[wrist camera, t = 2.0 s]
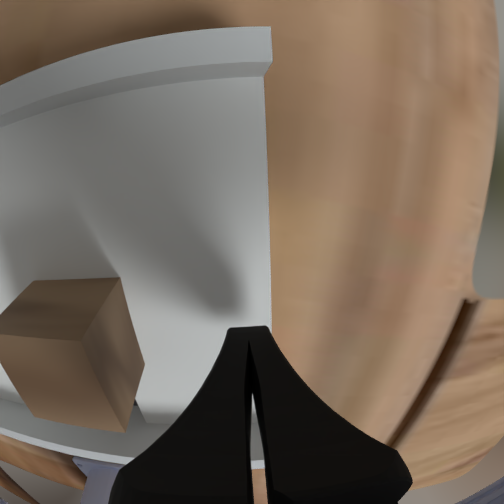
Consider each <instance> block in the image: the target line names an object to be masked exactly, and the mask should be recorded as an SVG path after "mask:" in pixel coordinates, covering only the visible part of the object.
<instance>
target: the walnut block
mask: <svg viewBox="0 0 504 504" xmlns="http://www.w3.org/2000/svg"><path fill="white" fill-rule="evenodd" d="M0 363H1V365H2V367H3V369H4V370H5V372H6V374H7V376H8V377H9V379H10V381H11V382H12V384H13V385H14V387H15V389H16V390H17V392H18V393H19V395H20V396H21V398H22V400H23V401H24V403H25V404H26V405H27V407H28V408H29V410H30V411H31V413H32V414H33V416H34V417H37V418H41V419H45V420H49V421H54V422H59V423H64V424H69V425H74V426H80V427H86V428H92V429H99V430H106V431H114V432H122V433H126V430H127V426H128V422H129V419H130V415H131V411H132V408H133V404H134V400H135V397H136V394H137V390H138V387H139V383H140V380H141V376H142V373H143V370H144V367H145V362H144V359H143V356H142V353H141V350H140V347H139V343H138V340H137V337H136V334H135V330H134V327H133V323H132V320H131V316H130V313H129V309H128V305H127V302H126V298H125V294H124V290H123V286H122V282H121V278H120V277H113V278H90V279H64V280H35V281H33V282H32V283H31V284H30V285H29V286H28V287H26V288H25V289H24V290H23V291H22V292H21V293H20V294H19V295H18V296H17V298H16V299H15V300H14V301H13V302H12V303H11V304H10V305H9V306H8V307H7V308H6V309H5V310H4V311H3V312H2V313H1V314H0Z"/></svg>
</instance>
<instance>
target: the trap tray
mask: <svg viewBox="0 0 504 504" xmlns="http://www.w3.org/2000/svg"><path fill="white" fill-rule="evenodd" d="M272 62H273V58H272V40H271V27H230V28H215V29H204V30H194V31H186V32H178V33H171V34H165V35H159V36H153V37H147V38H142V39H137V40H132V41H128V42H123V43H119V44H115V45H111V46H107V47H103V48H99V49H96V50H92V51H89V52H85V53H82V54H79V55H76V56H72V57H69V58H66V59H63V60H61V61H58V62H55V63H52V64H49V65H47V66H44V67H41V68H39V69H36V70H34V71H31V72H29V73H27V74H24V75H22V76H20V77H17V78H15V79H13V80H11V81H8V82H6V83H4V84H2V85H0V314H1V313H2V312H3V311H4V310H5V309H6V308H7V307H8V306H9V305H10V304H11V303H12V302H13V301H14V300H15V299H16V298H17V296H18V295H19V294H20V293H21V292H22V291H23V290H24V289H25V288H26V287H28V286H29V285H30V284H31V283H32V282H33V281H35V280H64V279H90V278H113V277H120V278H121V282H122V286H123V290H124V294H125V298H126V302H127V305H128V309H129V313H130V316H131V320H132V323H133V327H134V330H135V334H136V337H137V340H138V343H139V347H140V350H141V353H142V356H143V359H144V362H145V367H144V370H143V373H142V376H141V380H140V383H139V387H138V390H137V394H136V397H135V400H134V404H133V408H132V411H131V415H130V419H129V422H128V426H127V430H126V433H122V432H114V431H106V430H99V429H92V428H86V427H80V426H74V425H69V424H64V423H59V422H54V421H49V420H45V419H41V418H37V417H34V416H33V414H32V413H31V411H30V410H29V408H28V407H27V405H26V404H25V403H24V401H23V400H22V398H21V396H20V395H19V393H18V392H17V390H16V389H15V387H14V385H13V384H12V382H11V381H10V379H9V377H8V376H7V374H6V372H5V370H4V369H3V367H2V365H1V363H0V434H3V435H6V436H9V437H11V438H14V439H17V440H20V441H23V442H26V443H30V444H33V445H36V446H40V447H43V448H47V449H50V450H54V451H58V452H62V453H66V454H70V455H75V456H79V457H84V458H89V459H94V460H100V461H105V462H112V463H118V464H125V465H126V464H128V463H129V462H130V461H132V460H133V459H134V458H136V457H137V456H138V455H140V454H141V453H142V452H143V451H145V450H146V449H147V448H148V447H149V446H150V445H152V444H153V443H154V442H155V441H156V440H157V439H158V438H159V437H160V436H161V435H162V434H163V433H164V432H165V431H166V430H167V429H168V428H169V427H170V426H171V425H172V424H173V423H174V422H175V421H176V419H177V418H178V417H179V416H180V415H181V414H182V412H183V411H184V410H185V409H186V407H187V406H188V405H189V404H190V402H191V401H192V399H193V398H194V397H195V395H196V394H197V392H198V391H199V389H200V388H201V386H202V384H203V383H204V381H205V379H206V378H207V376H208V374H209V373H210V371H211V369H212V367H213V365H214V363H215V361H216V359H217V357H218V355H219V353H220V350H221V348H222V345H223V343H224V340H225V337H226V333H227V330H228V329H229V328H231V327H248V326H263V325H266V326H267V327H268V328H269V330H270V332H271V334H272V331H271V274H270V233H269V199H268V169H267V143H266V119H265V96H264V75H265V74H266V72H267V70H268V69H269V67H270V65H271V64H272ZM250 446H251V469H261V468H265V465H264V454H263V447H262V441H261V436H260V431H259V426H258V421H257V415H256V410H255V405H254V399H253V394H252V418H251V444H250Z"/></svg>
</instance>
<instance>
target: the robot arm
mask: <svg viewBox="0 0 504 504" xmlns="http://www.w3.org/2000/svg"><path fill="white" fill-rule="evenodd" d="M252 394H253V399H254V405H255V410H256V415H257V421H258V426H259V431H260V436H261V441H262V447H263V454H264V465H265V476H266V488H267V499H268V504H398V501H399V500H400V499H401V498H402V497H403V495H404V494H405V493H406V492H407V491H408V490H409V488H410V487H411V485H412V483H413V482H412V477H411V475H410V472H409V470H408V468H407V466H406V464H405V463H404V461H403V459H402V458H401V456H400V454H399V453H398V451H397V450H395V449H393V448H391V447H389V446H387V445H385V444H383V443H381V442H379V441H377V440H375V439H374V438H372V437H370V436H369V435H367V434H365V433H364V432H362V431H361V430H359V429H358V428H356V427H355V426H353V425H352V424H351V423H349V422H348V421H347V420H345V419H344V418H343V417H341V416H340V415H339V414H337V413H336V412H335V411H333V410H332V409H331V408H330V407H329V406H328V405H327V404H326V403H324V402H323V401H322V400H321V399H320V398H319V397H318V396H317V395H316V394H315V393H314V392H313V391H312V390H311V389H310V388H309V387H308V386H307V384H306V383H305V382H304V381H303V380H302V379H301V378H300V376H299V375H298V374H297V373H296V371H295V370H294V369H293V368H292V366H291V365H290V363H289V362H288V361H287V359H286V358H285V356H284V355H283V353H282V352H281V350H280V349H279V347H278V345H277V344H276V342H275V340H274V338H273V336H272V334H271V332H270V330H269V328H268V327H267V326H266V325H263V326H248V327H231V328H229V329H228V330H227V333H226V337H225V340H224V343H223V345H222V348H221V350H220V353H219V355H218V357H217V359H216V361H215V363H214V365H213V367H212V369H211V371H210V373H209V374H208V376H207V378H206V379H205V381H204V383H203V384H202V386H201V388H200V389H199V391H198V392H197V394H196V395H195V397H194V398H193V399H192V401H191V402H190V404H189V405H188V406H187V407H186V409H185V410H184V411H183V412H182V414H181V415H180V416H179V417H178V418H177V419H176V421H175V422H174V423H173V424H172V425H171V426H170V427H169V428H168V429H167V430H166V431H165V432H164V433H163V434H162V435H161V436H160V437H159V438H158V439H157V440H156V441H155V442H154V443H153V444H152V445H150V446H149V447H148V448H147V449H146V450H145V451H143V452H142V453H141V454H140V455H138V456H137V457H136V458H134V459H133V460H132V461H130V462H129V463H128V464H126V465H121V464H114V463H108V462H102V461H96V460H91V459H86V458H81V457H77V456H74V457H73V459H72V460H73V462H74V463H75V464H76V465H77V466H78V467H79V469H80V470H81V471H82V472H83V473H84V474H85V475H86V476H87V480H86V484H85V487H84V491H83V495H82V499H81V503H80V504H254V496H253V483H252V469H251V446H250V444H251V418H252ZM0 504H8V503H7V502H5V501H4V500H3V499H1V498H0ZM456 504H504V477H502V478H500V479H499V480H497V481H496V482H494V483H492V484H491V485H489V486H487V487H486V488H484V489H482V490H480V491H479V492H477V493H475V494H473V495H471V496H469V497H468V498H466V499H464V500H462V501H460V502H458V503H456Z"/></svg>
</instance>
